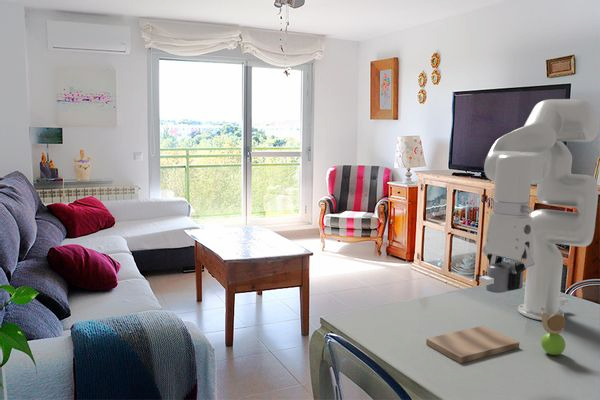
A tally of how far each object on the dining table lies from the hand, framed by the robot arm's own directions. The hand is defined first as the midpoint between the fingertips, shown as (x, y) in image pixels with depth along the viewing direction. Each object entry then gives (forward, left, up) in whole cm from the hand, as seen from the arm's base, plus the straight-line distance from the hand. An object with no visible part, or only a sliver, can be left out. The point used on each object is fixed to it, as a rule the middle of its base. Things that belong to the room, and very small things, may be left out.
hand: (505, 285), depth 121 cm
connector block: (0, 0, 0) cm, 1 cm away
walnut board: (-2, -10, -19) cm, 22 cm away
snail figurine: (-16, +2, -19) cm, 25 cm away
